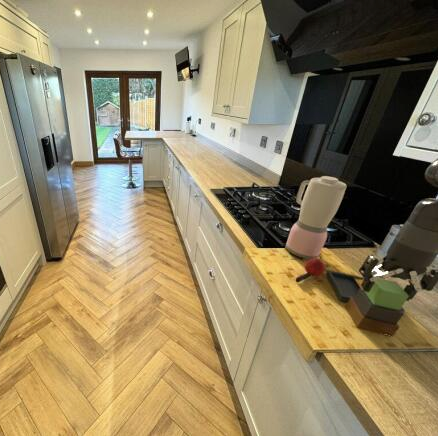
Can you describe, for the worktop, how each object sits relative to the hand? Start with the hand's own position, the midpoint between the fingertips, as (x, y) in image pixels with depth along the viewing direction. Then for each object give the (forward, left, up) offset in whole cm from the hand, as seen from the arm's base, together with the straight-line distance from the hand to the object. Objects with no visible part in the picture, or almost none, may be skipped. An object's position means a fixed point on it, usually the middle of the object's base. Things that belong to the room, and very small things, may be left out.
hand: (384, 294), depth 63 cm
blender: (+11, -34, -10) cm, 37 cm away
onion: (+10, -17, -10) cm, 22 cm away
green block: (0, 0, -2) cm, 2 cm away
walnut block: (0, 0, -10) cm, 10 cm away
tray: (-3, -13, -10) cm, 17 cm away
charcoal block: (0, 0, -6) cm, 6 cm away
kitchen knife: (+10, -17, -9) cm, 22 cm away
